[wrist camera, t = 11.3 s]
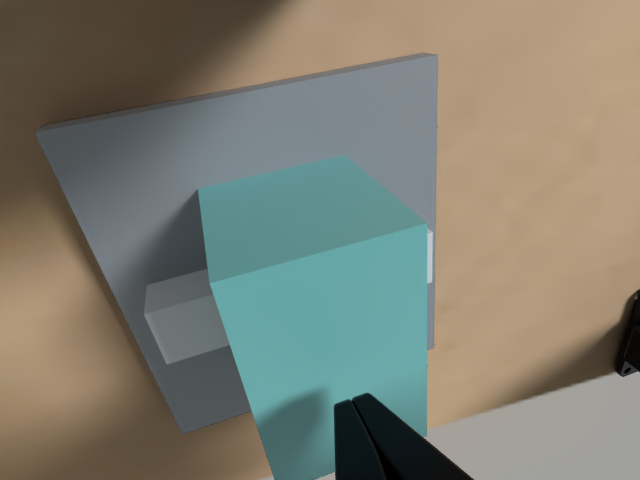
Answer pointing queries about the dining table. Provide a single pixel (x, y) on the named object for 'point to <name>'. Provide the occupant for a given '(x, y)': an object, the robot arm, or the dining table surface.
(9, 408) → the dining table surface
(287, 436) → the block
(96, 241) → the board
